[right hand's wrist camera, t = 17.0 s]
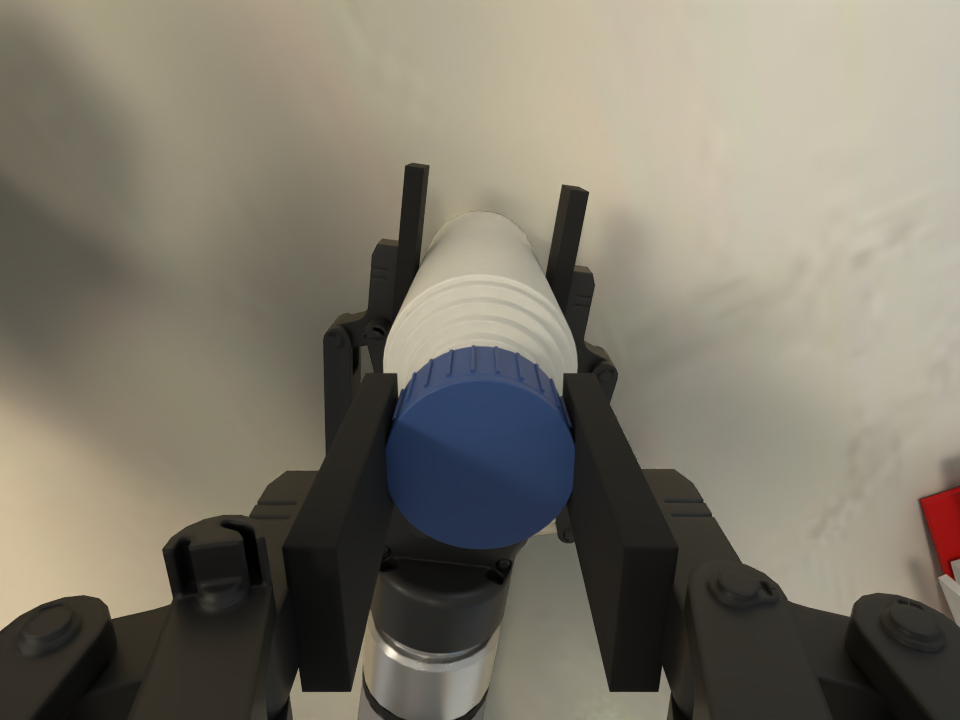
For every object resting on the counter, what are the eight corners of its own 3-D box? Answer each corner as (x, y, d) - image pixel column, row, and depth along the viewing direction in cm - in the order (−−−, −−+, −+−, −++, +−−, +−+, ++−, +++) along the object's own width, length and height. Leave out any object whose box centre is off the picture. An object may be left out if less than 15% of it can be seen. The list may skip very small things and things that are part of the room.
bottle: (473, 337, 34) (463, 606, 15) (404, 258, 33) (289, 441, 13) (555, 273, 33) (666, 473, 13) (487, 187, 31) (501, 271, 12)
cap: (602, 405, 15) (621, 448, 13) (499, 525, 16) (502, 581, 14) (458, 308, 14) (455, 337, 12) (361, 443, 15) (343, 491, 13)
